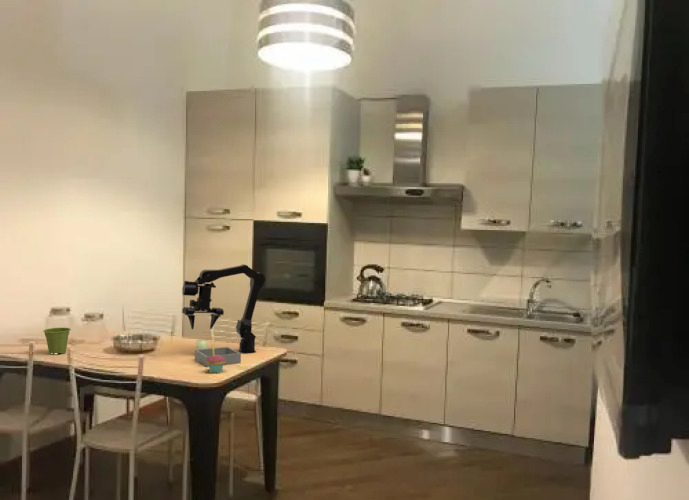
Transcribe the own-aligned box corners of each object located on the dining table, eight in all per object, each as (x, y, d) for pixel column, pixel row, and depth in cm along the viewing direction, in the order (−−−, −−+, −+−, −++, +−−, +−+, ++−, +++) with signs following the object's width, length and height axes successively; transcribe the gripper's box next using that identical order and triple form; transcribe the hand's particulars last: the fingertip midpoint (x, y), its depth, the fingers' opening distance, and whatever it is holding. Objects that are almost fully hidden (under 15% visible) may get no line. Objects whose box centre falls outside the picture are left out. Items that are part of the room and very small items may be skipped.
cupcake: (215, 374, 260) (216, 346, 259) (201, 371, 264) (201, 343, 264) (230, 370, 267) (230, 343, 267) (215, 368, 272) (215, 340, 271)
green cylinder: (205, 353, 300) (205, 339, 300) (208, 355, 296) (208, 341, 295) (195, 354, 297) (195, 340, 297) (198, 356, 293) (198, 341, 293)
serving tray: (227, 356, 295) (228, 346, 295) (240, 363, 281) (240, 353, 281) (194, 359, 287) (194, 350, 286) (206, 367, 273) (206, 356, 273)
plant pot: (45, 351, 299) (45, 327, 298) (72, 350, 302) (72, 327, 301) (41, 356, 287) (40, 332, 287) (69, 355, 291) (68, 331, 290)
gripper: (216, 294, 307) (213, 326, 308) (179, 293, 297) (176, 326, 297) (225, 297, 298) (222, 330, 298) (188, 296, 288) (184, 330, 288)
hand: (201, 329), depth 296 cm, fingers open, 9 cm apart
